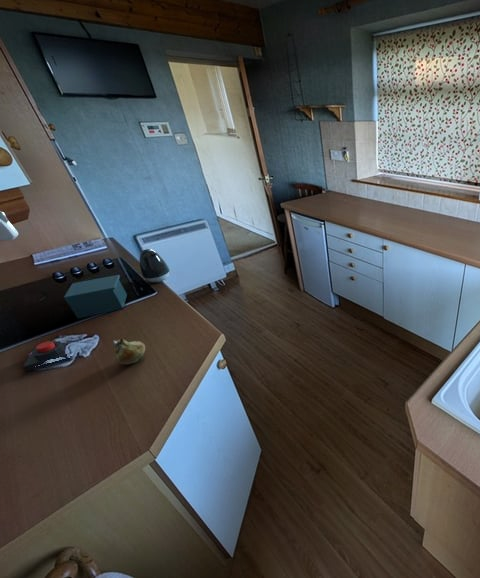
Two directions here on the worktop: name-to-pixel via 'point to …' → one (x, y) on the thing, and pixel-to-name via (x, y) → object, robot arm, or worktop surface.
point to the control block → (46, 357)
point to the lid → (92, 286)
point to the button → (45, 346)
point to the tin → (98, 302)
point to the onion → (129, 351)
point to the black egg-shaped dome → (153, 266)
